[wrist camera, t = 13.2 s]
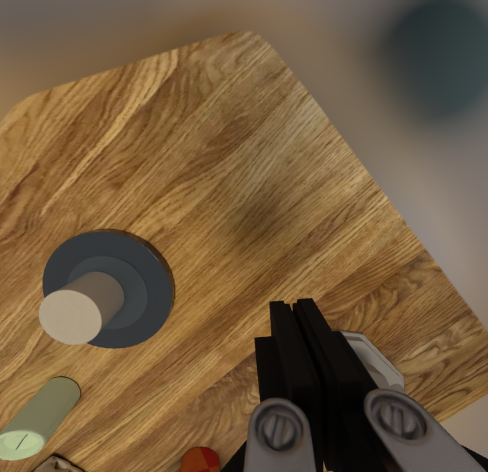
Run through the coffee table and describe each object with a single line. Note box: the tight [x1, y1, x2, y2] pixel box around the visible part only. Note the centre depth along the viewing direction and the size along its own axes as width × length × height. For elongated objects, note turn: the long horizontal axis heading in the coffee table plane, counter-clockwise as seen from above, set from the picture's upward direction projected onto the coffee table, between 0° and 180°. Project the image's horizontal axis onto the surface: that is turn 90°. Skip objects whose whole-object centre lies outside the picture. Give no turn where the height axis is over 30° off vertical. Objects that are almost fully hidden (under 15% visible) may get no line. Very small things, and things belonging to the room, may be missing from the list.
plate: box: [43, 229, 175, 349], centre depth 31 cm, size 16×16×2 cm
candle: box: [0, 377, 80, 460], centre depth 31 cm, size 5×5×8 cm
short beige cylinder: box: [39, 272, 124, 345], centre depth 27 cm, size 6×6×5 cm
